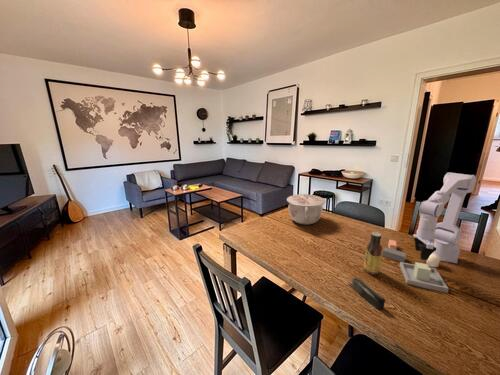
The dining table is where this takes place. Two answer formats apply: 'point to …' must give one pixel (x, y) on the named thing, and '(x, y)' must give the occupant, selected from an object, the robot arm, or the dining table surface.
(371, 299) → the dark grey bar
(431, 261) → the cream round brick
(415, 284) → the grey tray
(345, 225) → the dining table surface
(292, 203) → the chamber pot
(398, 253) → the grey rectangular block
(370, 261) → the sauce bottle
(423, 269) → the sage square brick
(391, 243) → the terracotta slim brick
